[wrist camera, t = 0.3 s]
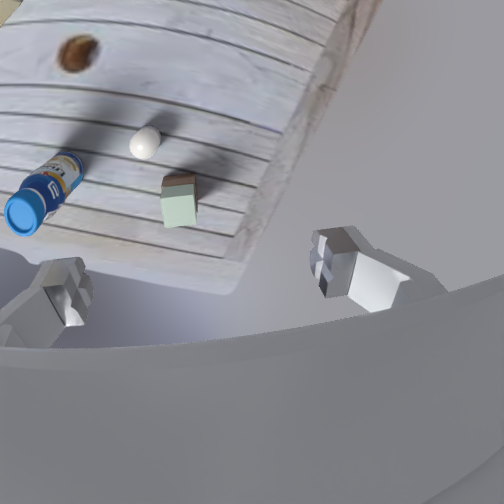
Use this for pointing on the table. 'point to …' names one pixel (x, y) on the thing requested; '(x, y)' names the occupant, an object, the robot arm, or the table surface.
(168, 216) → the tower top
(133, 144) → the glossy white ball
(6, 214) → the beverage bottle
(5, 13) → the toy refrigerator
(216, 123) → the table surface
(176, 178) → the tower base
